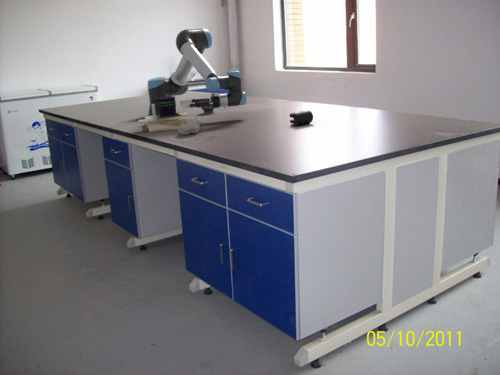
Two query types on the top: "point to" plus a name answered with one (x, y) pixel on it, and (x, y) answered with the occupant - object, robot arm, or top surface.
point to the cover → (149, 119)
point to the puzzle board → (166, 122)
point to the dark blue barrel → (167, 106)
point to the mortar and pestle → (208, 108)
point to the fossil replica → (189, 126)
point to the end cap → (301, 118)
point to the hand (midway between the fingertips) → (181, 104)
